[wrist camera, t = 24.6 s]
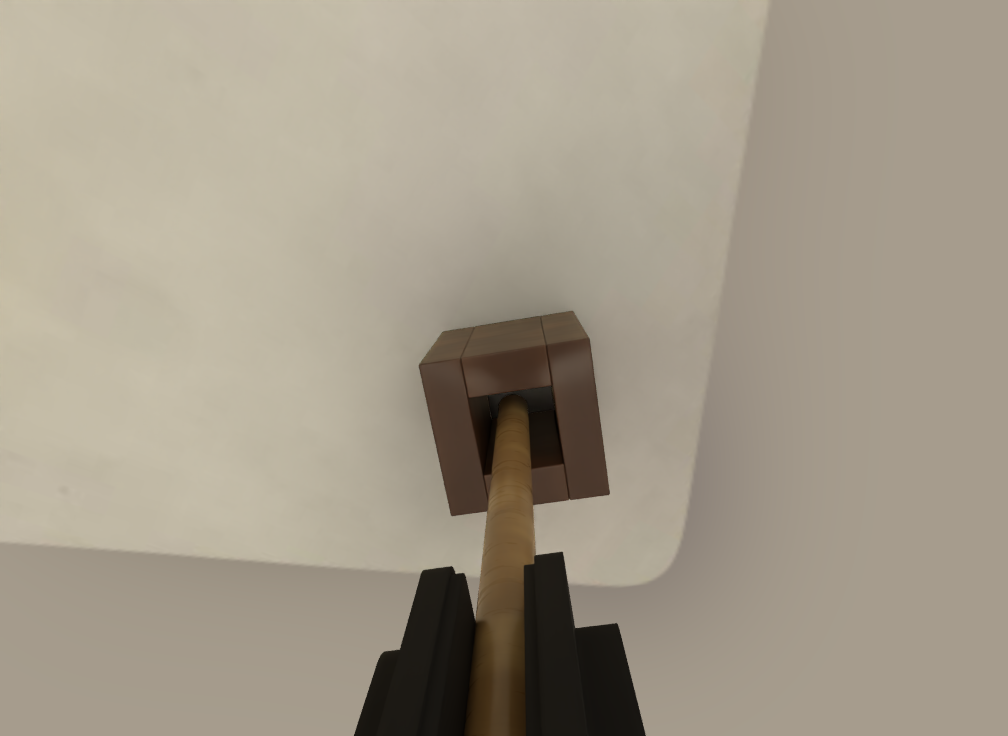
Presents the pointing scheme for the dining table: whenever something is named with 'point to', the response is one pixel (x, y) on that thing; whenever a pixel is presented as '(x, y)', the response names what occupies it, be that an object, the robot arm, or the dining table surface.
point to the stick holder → (553, 434)
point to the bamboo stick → (503, 583)
